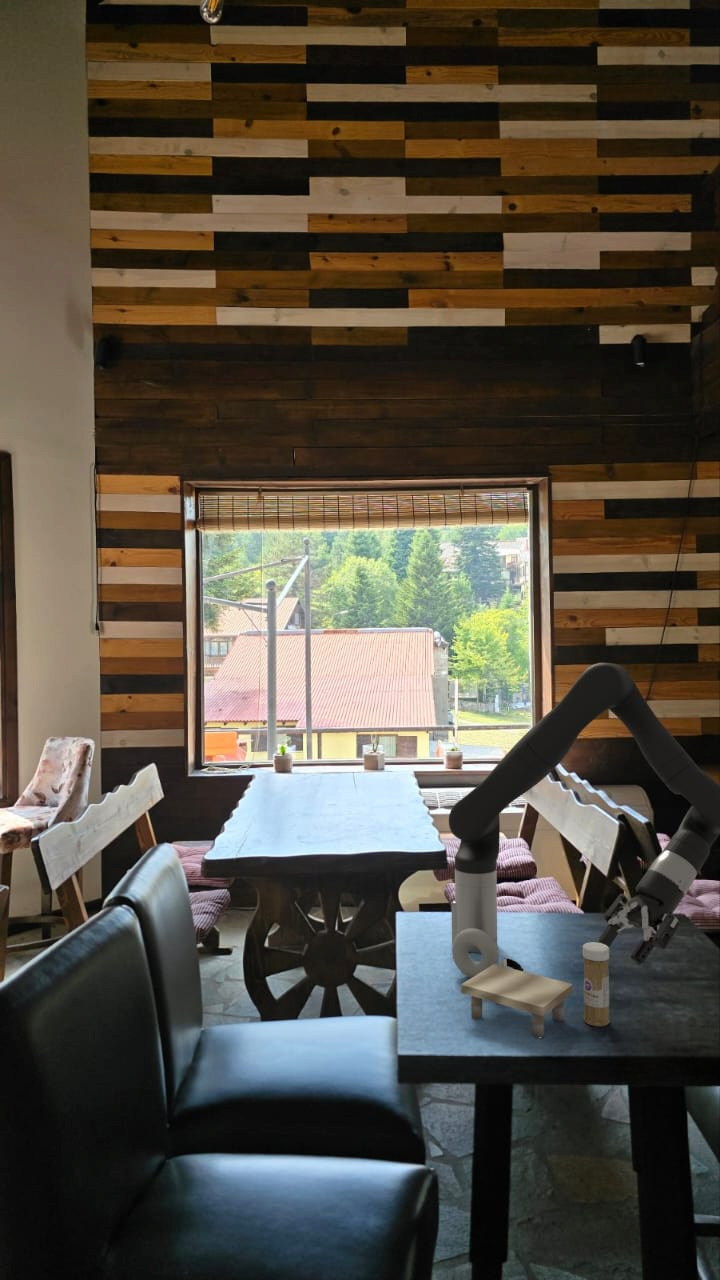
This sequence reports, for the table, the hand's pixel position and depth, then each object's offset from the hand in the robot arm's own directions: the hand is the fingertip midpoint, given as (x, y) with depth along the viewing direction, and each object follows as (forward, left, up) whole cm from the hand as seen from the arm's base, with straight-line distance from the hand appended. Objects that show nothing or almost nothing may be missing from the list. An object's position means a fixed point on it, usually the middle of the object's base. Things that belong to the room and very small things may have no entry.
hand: (618, 953), depth 150 cm
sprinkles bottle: (-2, -4, -12) cm, 13 cm away
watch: (-24, +6, -12) cm, 28 cm away
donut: (-29, 0, -12) cm, 32 cm away
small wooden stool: (-14, -11, -11) cm, 22 cm away
